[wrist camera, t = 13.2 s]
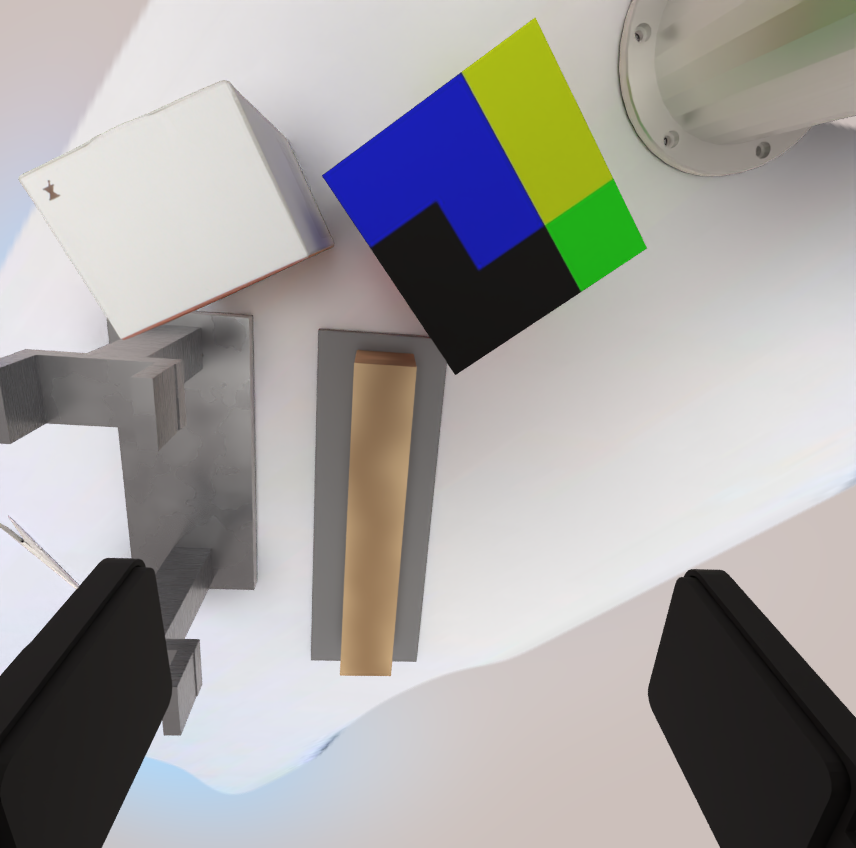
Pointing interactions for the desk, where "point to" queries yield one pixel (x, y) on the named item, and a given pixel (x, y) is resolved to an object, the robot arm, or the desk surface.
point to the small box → (179, 208)
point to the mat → (334, 484)
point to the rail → (376, 508)
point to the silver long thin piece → (38, 552)
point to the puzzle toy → (489, 200)
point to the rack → (164, 457)
